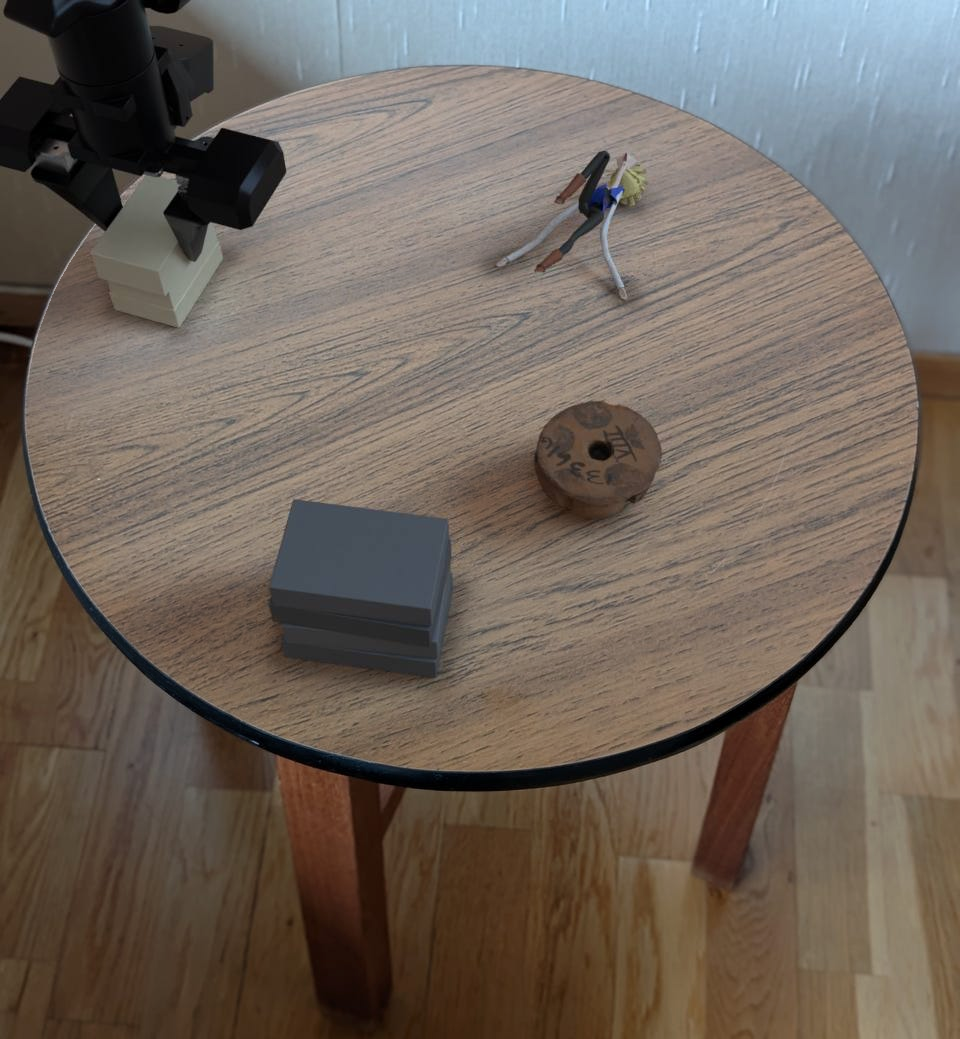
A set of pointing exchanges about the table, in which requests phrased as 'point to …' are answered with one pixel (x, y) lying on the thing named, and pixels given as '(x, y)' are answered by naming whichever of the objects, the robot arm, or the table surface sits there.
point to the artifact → (597, 458)
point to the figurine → (592, 208)
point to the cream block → (142, 241)
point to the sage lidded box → (179, 296)
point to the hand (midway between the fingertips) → (158, 246)
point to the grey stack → (363, 587)
